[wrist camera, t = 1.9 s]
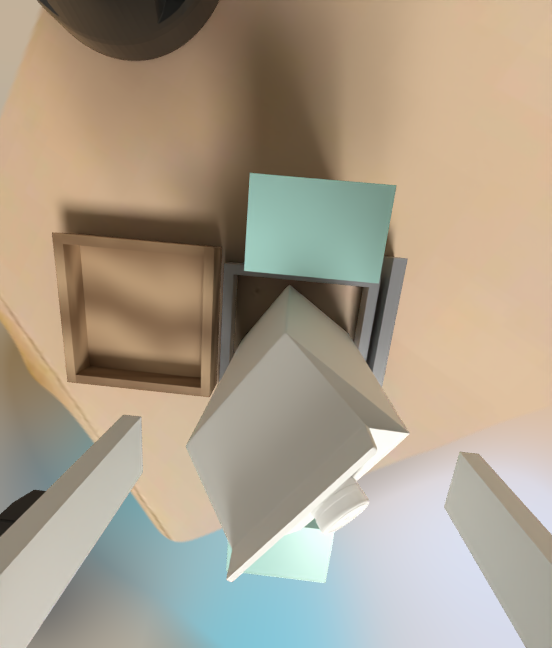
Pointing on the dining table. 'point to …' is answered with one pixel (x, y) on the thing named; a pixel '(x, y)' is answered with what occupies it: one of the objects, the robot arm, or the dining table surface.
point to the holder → (324, 267)
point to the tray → (139, 312)
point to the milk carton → (291, 430)
